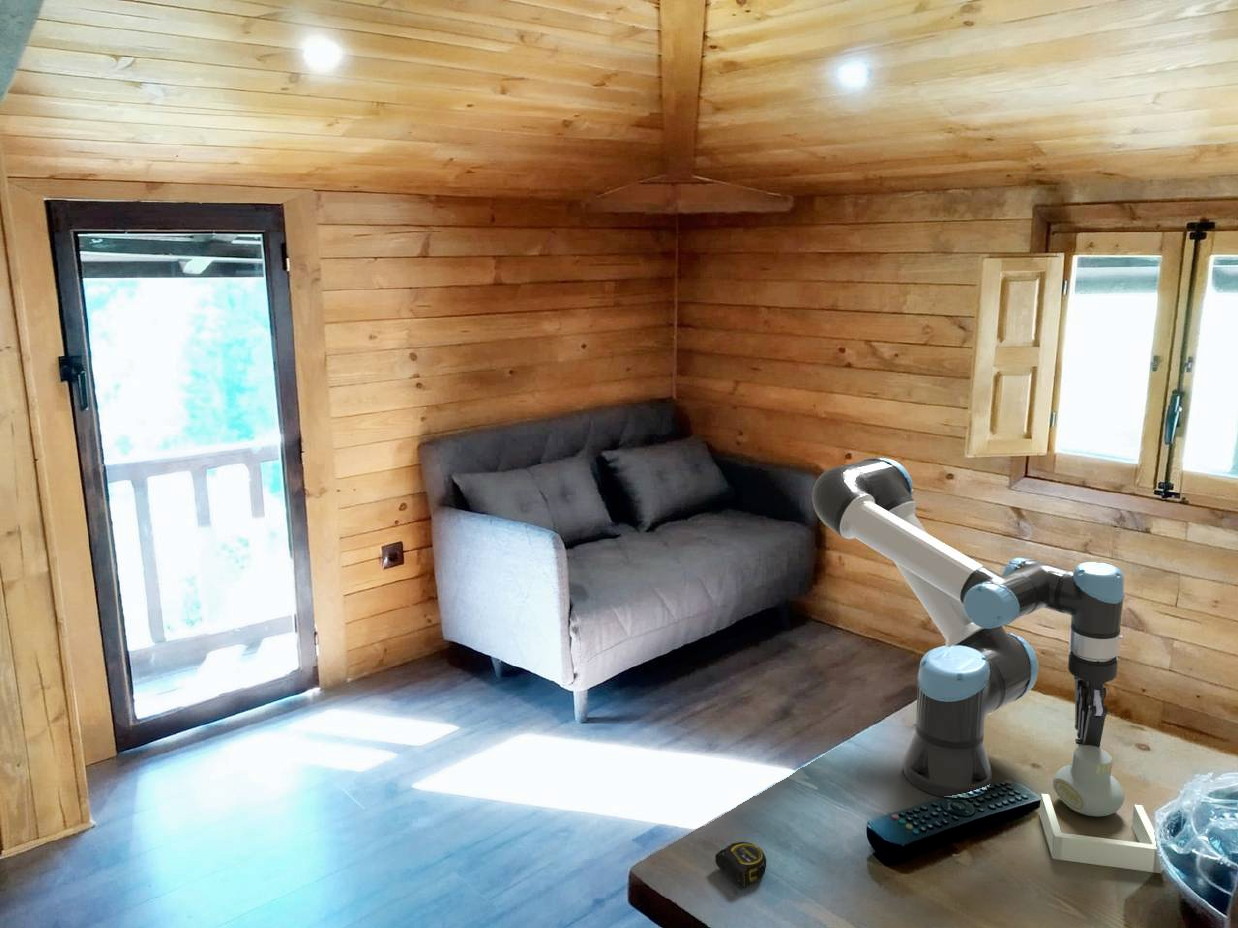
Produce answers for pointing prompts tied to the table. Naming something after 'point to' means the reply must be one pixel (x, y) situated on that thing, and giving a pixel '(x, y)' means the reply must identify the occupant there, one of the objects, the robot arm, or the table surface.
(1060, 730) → the table surface
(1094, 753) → the air freshener
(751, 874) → the tape measure
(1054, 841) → the dock
